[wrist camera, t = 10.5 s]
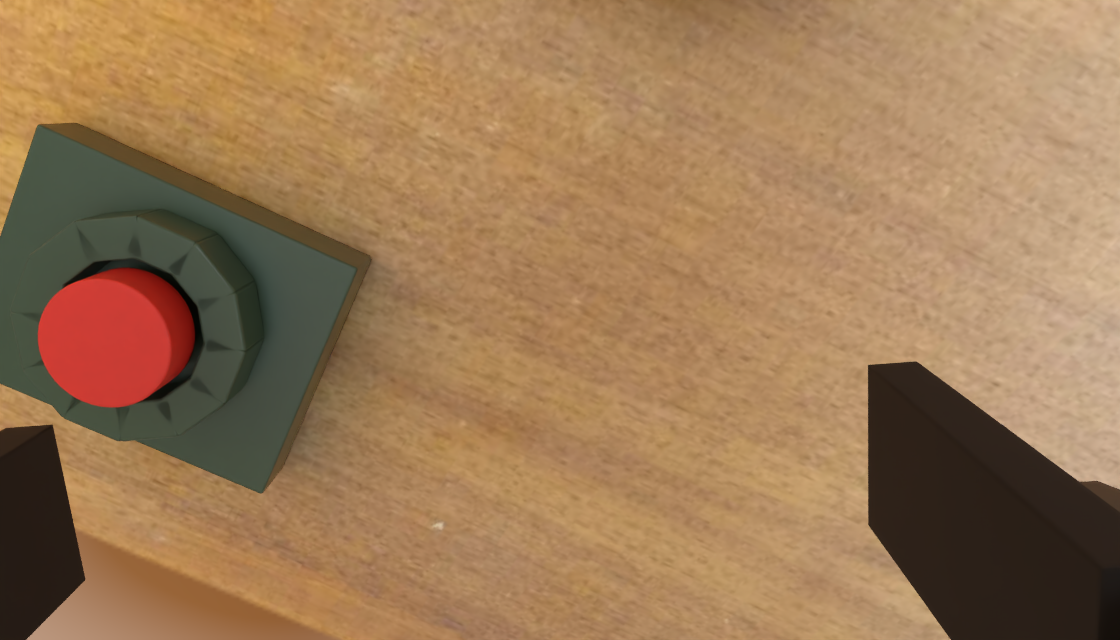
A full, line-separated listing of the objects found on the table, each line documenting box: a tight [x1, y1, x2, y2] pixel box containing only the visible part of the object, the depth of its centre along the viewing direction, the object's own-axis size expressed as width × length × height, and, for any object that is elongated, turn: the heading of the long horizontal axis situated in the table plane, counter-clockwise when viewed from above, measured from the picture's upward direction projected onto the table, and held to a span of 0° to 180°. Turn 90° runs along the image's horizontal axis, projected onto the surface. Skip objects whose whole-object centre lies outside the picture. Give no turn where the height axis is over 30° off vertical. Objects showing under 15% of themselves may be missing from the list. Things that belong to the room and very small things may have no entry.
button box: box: [0, 123, 371, 493], centre depth 29 cm, size 10×8×4 cm
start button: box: [38, 268, 195, 408], centre depth 26 cm, size 4×4×2 cm
